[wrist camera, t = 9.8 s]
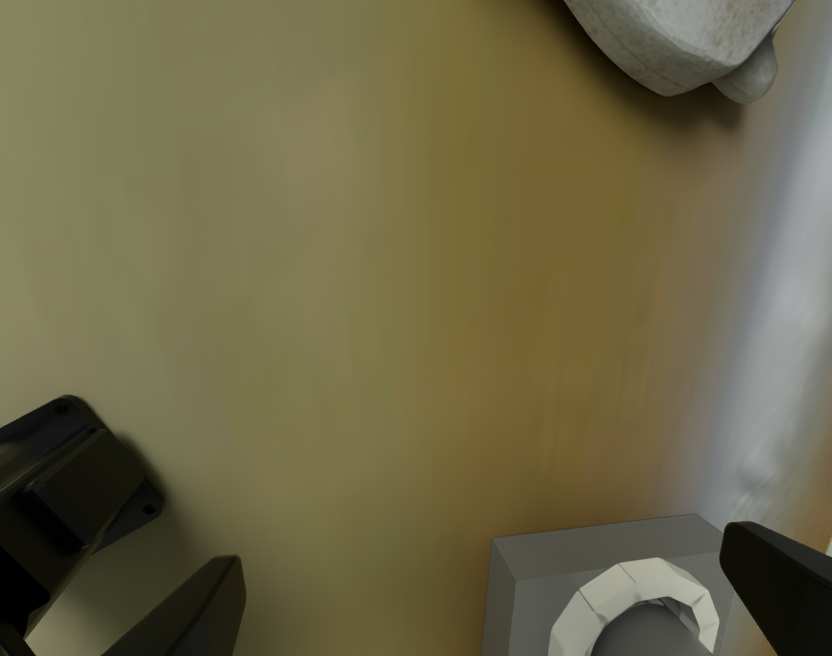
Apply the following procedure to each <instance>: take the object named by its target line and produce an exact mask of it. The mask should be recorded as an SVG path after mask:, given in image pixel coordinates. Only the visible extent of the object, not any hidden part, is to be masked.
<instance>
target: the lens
mask: <svg viewBox="0 0 832 656" xmlns="http://www.w3.org/2000/svg"><path fill="white" fill-rule="evenodd" d="M585 656H714V655H713V654H712V653H711V652H710V651H709V650H708V649H707V648H706V647H705V646H704V645H703V643H702V642H701V641H700V640H699V639H698V638H697V637H696V636H695V635H694V634H693V633H692V632H691V631H690V630H689V629H688V628H687V626H686V625H685V624H684V623H683V622H682V621H681V620H680V619H679V618H678V617H677V616H676V615H675V614H674V613H673V612H672V611H671V609H670V608H669V607H668V606H667V605H666V604H665V603H664V602H663V601H662V600H661V599H660V598H654V599H648V600H643V601H637V602H636V603H634V604H633V605H631V606H630V607H628V608H627V609H625V610H624V611H622V612H621V613H619V614H618V615H616V616H615V617H613V618H612V619H610V620H609V621H607V622H606V623H605V625H604V626H603V628H602V629H601V630H600V632H599V633H598V635H597V636H596V638H595V639H594V641H593V642H592V644H591V645H590V646H589V648H588V649H587V651H586V652H585Z"/></svg>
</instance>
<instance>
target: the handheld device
mask: <svg viewBox="0 0 832 656" xmlns="http://www.w3.org/2000/svg"><path fill="white" fill-rule="evenodd" d="M795 1H796V0H564V2H565V3H566V4H567V6H568V7H569V9H570V10H571V12H572V13H573V14H574V16H575V17H576V19H577V20H578V22H579V23H580V24H581V26H582V27H583V28H584V30H585V31H586V33H587V34H588V35H589V36H590V38H591V39H592V40H593V41H594V42H595V43H596V45H597V46H598V47H599V48H600V49H601V50H602V51H603V52H604V53H605V54H606V55H607V56H608V57H609V58H610V59H611V60H612V61H613V62H614V63H615V64H616V65H617V66H618V67H619V68H620V69H621V70H623V71H624V72H625V73H626V74H628V75H629V76H630V77H632V78H633V79H634V80H636V81H637V82H638V83H640V84H642V85H644V86H645V87H647V88H649V89H650V90H652V91H654V92H656V93H657V94H660V95H662V96H665V97H669V96H674V95H678V94H682V93H684V92H687V91H690V90H692V89H694V88H697V87H699V86H701V85H703V84H706V83H708V82H712V83H713V84H714V85H715V86H716V87H717V88H718V89H719V91H720V92H722V93H723V94H724V95H725V96H727V97H728V98H730V99H731V100H733V101H735V102H738V103H742V104H745V103H752V102H754V101H757V100H759V99H760V98H761V97H763V96H764V95H765V94H766V92H767V91H768V90H769V89H770V87H771V86H772V84H773V81H774V79H775V77H776V74H777V70H778V65H777V60H776V56H775V49H774V42H773V38H774V35H775V32H776V31H777V29H778V28H779V26H780V25H781V23H782V22H783V21H784V19H785V18H786V16H787V15H788V14H789V12H790V10H791V8H792V7H793V5H794V3H795Z"/></svg>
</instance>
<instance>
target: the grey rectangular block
mask: <svg viewBox="0 0 832 656" xmlns="http://www.w3.org/2000/svg"><path fill="white" fill-rule="evenodd" d="M723 534H724V533H722V532H721V531H720V530H718V529H717V528H715V527H714V526H713V525H711V524H710V523H709V522H707V521H706V520H704V519H703V518H702V517H700V516H699V515H698V514H689V515H681V516H673V517H664V518H656V519H648V520H639V521H631V522H623V523H614V524H606V525H598V526H589V527H581V528H573V529H564V530H556V531H548V532H539V533H531V534H523V535H514V536H506V537H497V538H492V545H491V556H490V567H489V577H488V588H487V599H486V610H485V620H484V631H483V642H482V653H481V656H585V652H586V651H587V649H588V648H589V646H590V645H591V644H592V642H593V641H594V639H595V638H596V636H597V635H598V633H599V632H600V630H601V629H602V628H603V626H604V625H605V623H606V622H607V621H609V620H610V619H612V618H613V617H615V616H616V615H618V614H619V613H621V612H622V611H624V610H625V609H627V608H628V607H630V606H631V605H633V604H634V603H636V602H637V601H643V600H648V599H654V598H660V599H661V600H662V601H663V602H664V603H665V604H666V605H667V606H668V607H669V608H670V609H671V611H672V612H673V613H674V614H675V615H676V616H677V617H678V618H679V619H680V620H681V621H682V622H683V623H684V624H685V625H686V626H687V628H688V629H689V630H690V631H691V632H692V633H693V634H694V635H695V636H696V637H697V638H698V639H699V640H700V641H701V642H702V643H703V645H704V646H705V647H706V648H707V649H708V650H709V651H710V652H711V653H712V654H713V655H714V656H718V655H719V651H720V647H721V642H722V638H723V634H724V629H725V625H726V621H727V617H728V612H729V608H730V604H731V599H732V595H733V591H734V588H733V587H732V585H731V584H730V582H729V581H728V579H727V577H726V576H725V574H724V573H723V571H722V569H721V566H720V563H719V554H720V549H721V544H722V539H723Z"/></svg>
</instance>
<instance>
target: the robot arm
mask: <svg viewBox="0 0 832 656" xmlns="http://www.w3.org/2000/svg"><path fill="white" fill-rule="evenodd" d="M62 404H65V405H67V406H68V407H69V409H70V412H66V411H64V410H63V409H62V407H61V405H62ZM148 504H152V505H154V506H155V509H150V508H149V507H148V506H147V505H148ZM165 505H166V504H165V500H164V498H163V497H162V495H161V494H160V493H159V492H158V491H157V489H156V488H155V487H154V486H153V485H152V484H151V482H150V481H149V480H148V479H147V478H146V477H145V473H144V472H143V470H142V469H141V468H140V467H139V466H138V465H137V463H136V462H135V461H134V460H133V459H132V457H131V456H130V455H129V454H128V453H127V452H126V450H125V449H124V448H123V447H122V446H121V445H120V443H119V442H118V441H117V440H116V439H115V437H114V436H113V435H112V434H111V433H110V432H109V431H107V430H105V428H104V427H103V426H102V425H101V424H100V423H99V421H98V420H97V419H96V418H95V417H94V416H93V414H92V413H91V412H90V411H89V410H88V408H87V407H86V406H85V405H84V404H83V403H82V401H81V400H80V399H78V398H77V397H76V396H73V395H63V396H60V397H58V398H56V399H54V400H52V401H50V402H48V403H47V404H45V405H43V406H41V407H39V408H37V409H35V410H33V411H32V412H30V413H28V414H26V415H24V416H22V417H20V418H18V419H16V420H15V421H13V422H11V423H9V424H7V425H5V426H3V427H1V428H0V656H36V655H35V654H34V652H33V651H32V650H31V648H30V647H29V646H28V644H27V643H26V642H25V639H26V638H27V637H28V636H29V634H30V633H31V632H32V630H33V629H34V628H35V627H36V625H37V624H38V623H39V621H40V620H41V619H42V618H43V616H44V615H45V614H46V612H47V611H48V610H49V608H50V607H51V606H52V605H53V603H54V602H55V601H56V599H57V598H58V597H59V596H60V594H61V593H62V592H63V590H64V589H65V588H66V587H67V585H68V584H69V583H70V581H71V580H72V579H73V577H74V576H75V575H76V574H77V572H78V571H79V570H80V568H81V567H82V566H83V565H84V563H85V562H86V561H87V559H88V558H89V557H90V556H91V555H92V554H94V553H96V552H97V551H99V550H101V549H103V548H104V547H106V546H108V545H110V544H111V543H113V542H115V541H117V540H118V539H120V538H122V537H124V536H125V535H127V534H129V533H131V532H132V531H134V530H136V529H138V528H139V527H141V526H143V525H145V524H146V523H148V522H150V521H152V520H153V519H155V518H157V517H158V516H159V515H160V514H161V512H162V511H163V509H164V507H165ZM719 563H720V566H721V569H722V571H723V573H724V574H725V576H726V577H727V579H728V581H729V582H730V584H731V585H732V587H733V588H734V590H735V591H736V593H737V594H738V596H739V597H740V599H741V600H742V602H743V603H744V605H745V606H746V608H747V609H748V611H749V612H750V614H751V616H752V617H753V619H754V620H755V622H756V623H757V625H758V626H759V628H760V629H761V631H762V632H763V634H764V635H765V637H766V638H767V640H768V641H769V643H770V644H771V646H772V647H773V649H774V650H775V652H776V653H777V655H778V656H832V557H830V556H828V555H825V554H823V553H821V552H819V551H817V550H814V549H812V548H810V547H808V546H806V545H803V544H801V543H799V542H797V541H795V540H792V539H790V538H788V537H786V536H784V535H781V534H779V533H777V532H775V531H773V530H770V529H768V528H766V527H764V526H762V525H759V524H757V523H755V522H751V521H742V522H731V523H728V524H727V525H726V527H725V529H724V534H723V539H722V544H721V549H720V554H719ZM245 603H246V587H245V581H244V575H243V569H242V563H241V559H240V557H239V556H238V555H220V556H215V557H213V558H212V559H210V560H209V561H208V562H207V563H206V564H205V565H204V566H202V567H201V568H200V569H199V570H198V571H197V572H196V573H194V574H193V575H192V576H191V577H190V578H189V579H188V580H186V581H185V582H184V583H183V584H182V585H181V586H180V587H179V588H177V589H176V590H175V591H174V592H173V593H172V594H171V595H169V596H168V597H167V598H166V599H165V600H164V601H163V602H161V603H160V604H159V605H158V606H157V607H156V608H155V609H153V610H152V611H151V612H150V613H149V614H148V615H147V616H146V617H144V618H143V619H142V620H141V621H140V622H139V623H138V624H136V625H135V626H134V627H133V628H132V629H131V630H130V631H128V632H127V633H126V634H125V635H124V636H123V637H122V638H120V639H119V640H118V641H117V642H116V643H115V644H114V645H112V646H111V647H110V648H109V649H108V650H107V651H106V652H105V653H103V654H102V655H101V656H232V654H233V651H234V647H235V643H236V639H237V635H238V631H239V627H240V623H241V620H242V616H243V612H244V608H245Z"/></svg>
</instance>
